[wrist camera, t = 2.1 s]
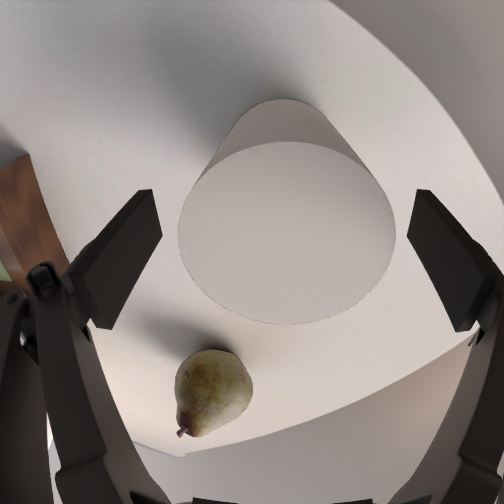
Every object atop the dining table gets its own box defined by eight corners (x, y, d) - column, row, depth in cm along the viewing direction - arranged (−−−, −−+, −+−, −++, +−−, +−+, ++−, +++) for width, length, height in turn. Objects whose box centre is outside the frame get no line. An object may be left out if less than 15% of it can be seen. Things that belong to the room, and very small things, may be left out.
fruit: (175, 333, 34) (148, 421, 24) (251, 335, 33) (240, 433, 23) (195, 375, 40) (179, 448, 30) (259, 378, 39) (252, 456, 29)
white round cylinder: (318, 214, 23) (340, 337, 13) (218, 188, 22) (171, 300, 13) (354, 120, 18) (431, 189, 9) (241, 86, 18) (195, 114, 8)
